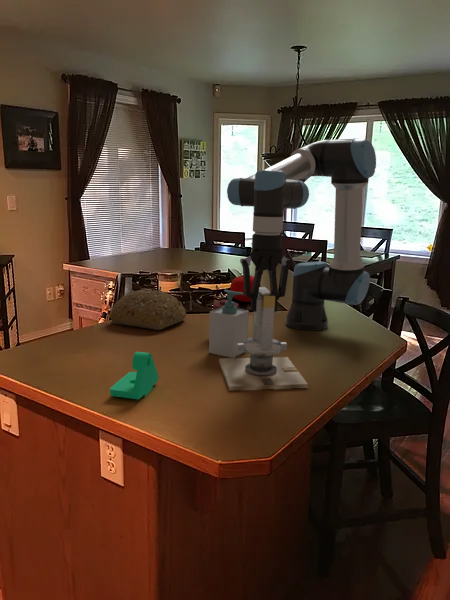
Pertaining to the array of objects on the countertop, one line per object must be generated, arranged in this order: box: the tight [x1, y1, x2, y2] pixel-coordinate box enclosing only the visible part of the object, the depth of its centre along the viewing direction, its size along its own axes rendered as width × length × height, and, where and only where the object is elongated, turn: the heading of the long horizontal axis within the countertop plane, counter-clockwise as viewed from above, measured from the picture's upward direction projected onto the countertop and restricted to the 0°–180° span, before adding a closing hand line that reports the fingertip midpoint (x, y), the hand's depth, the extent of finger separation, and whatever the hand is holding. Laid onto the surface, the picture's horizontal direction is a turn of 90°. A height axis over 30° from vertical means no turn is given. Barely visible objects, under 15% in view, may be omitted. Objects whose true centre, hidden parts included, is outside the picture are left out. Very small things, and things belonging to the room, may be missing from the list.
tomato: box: [229, 274, 262, 303], centre depth 218 cm, size 13×14×12 cm
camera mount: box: [109, 351, 159, 400], centre depth 122 cm, size 12×8×10 cm, turn 166°
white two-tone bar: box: [237, 286, 288, 357], centre depth 132 cm, size 13×11×16 cm
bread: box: [109, 288, 187, 331], centre depth 181 cm, size 24×21×12 cm
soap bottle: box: [208, 289, 250, 358], centre depth 151 cm, size 9×9×19 cm
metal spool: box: [245, 354, 277, 376], centre depth 135 cm, size 8×8×6 cm
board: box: [218, 356, 309, 392], centre depth 135 cm, size 20×20×2 cm
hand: (263, 322), depth 132 cm, fingers closed on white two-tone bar, 3 cm apart
